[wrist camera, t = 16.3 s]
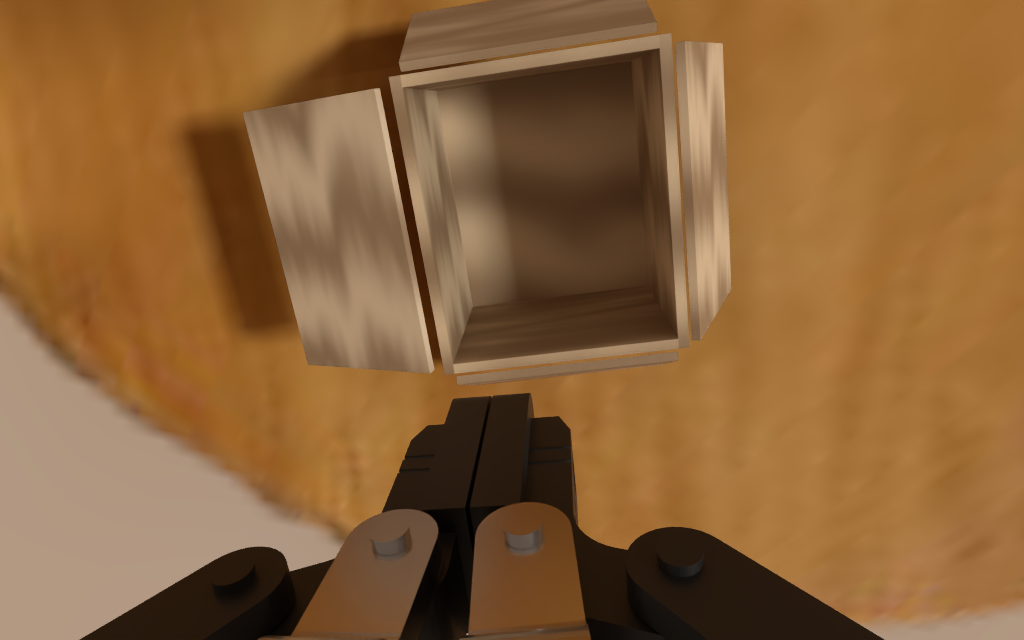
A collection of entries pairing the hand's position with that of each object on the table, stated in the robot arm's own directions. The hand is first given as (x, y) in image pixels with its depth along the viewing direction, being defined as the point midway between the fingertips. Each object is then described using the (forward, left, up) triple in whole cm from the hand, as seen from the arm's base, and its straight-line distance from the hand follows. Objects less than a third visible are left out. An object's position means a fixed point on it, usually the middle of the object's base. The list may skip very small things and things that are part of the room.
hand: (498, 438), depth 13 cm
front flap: (-1, -5, -18) cm, 19 cm away
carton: (-1, +3, -28) cm, 28 cm away
